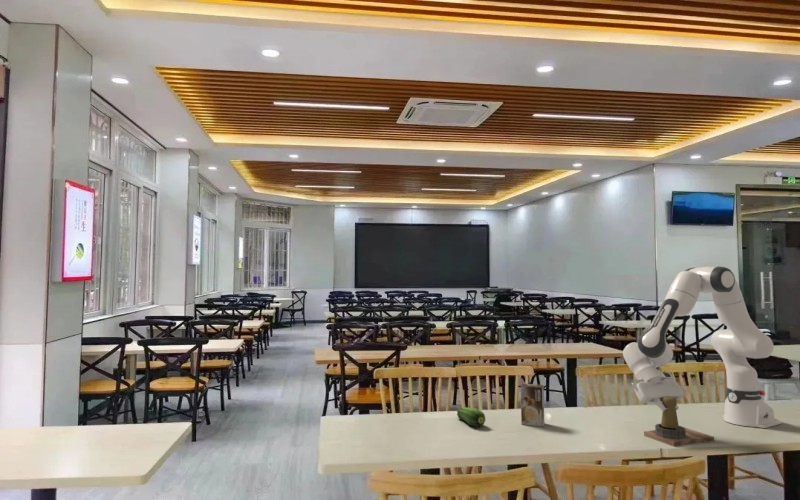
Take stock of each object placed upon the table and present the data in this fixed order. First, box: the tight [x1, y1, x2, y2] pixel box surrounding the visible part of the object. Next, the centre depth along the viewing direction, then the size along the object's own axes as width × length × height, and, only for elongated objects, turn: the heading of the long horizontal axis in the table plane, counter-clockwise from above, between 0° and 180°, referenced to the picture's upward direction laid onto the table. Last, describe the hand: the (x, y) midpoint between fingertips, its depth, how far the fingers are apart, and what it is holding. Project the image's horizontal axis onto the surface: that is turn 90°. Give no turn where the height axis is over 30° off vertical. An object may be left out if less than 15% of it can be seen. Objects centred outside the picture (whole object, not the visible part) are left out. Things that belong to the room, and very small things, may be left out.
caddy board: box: [643, 423, 715, 447], centre depth 200 cm, size 20×14×4 cm
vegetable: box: [456, 406, 486, 428], centre depth 221 cm, size 7×7×20 cm
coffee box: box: [520, 383, 545, 427], centre depth 220 cm, size 9×6×16 cm
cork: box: [660, 396, 680, 428], centre depth 199 cm, size 6×6×11 cm
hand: (670, 409), depth 199 cm, fingers closed on cork, 4 cm apart
